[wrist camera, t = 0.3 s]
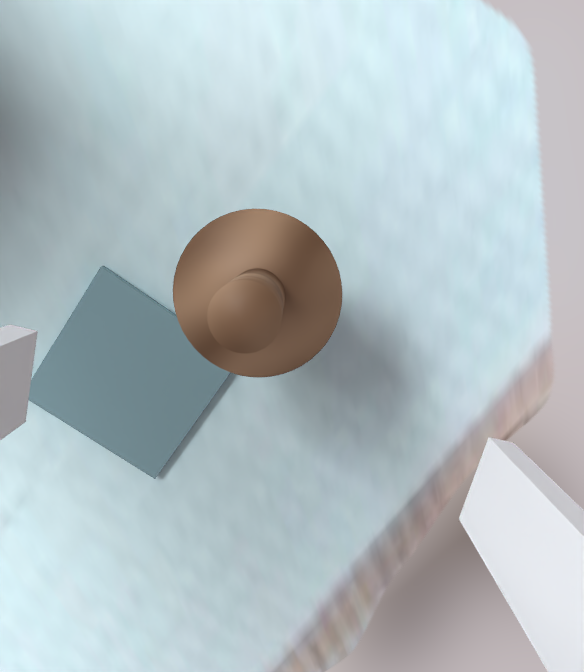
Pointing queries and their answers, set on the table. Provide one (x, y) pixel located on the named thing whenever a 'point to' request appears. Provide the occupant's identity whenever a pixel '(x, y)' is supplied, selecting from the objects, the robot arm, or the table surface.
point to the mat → (126, 374)
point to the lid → (257, 293)
